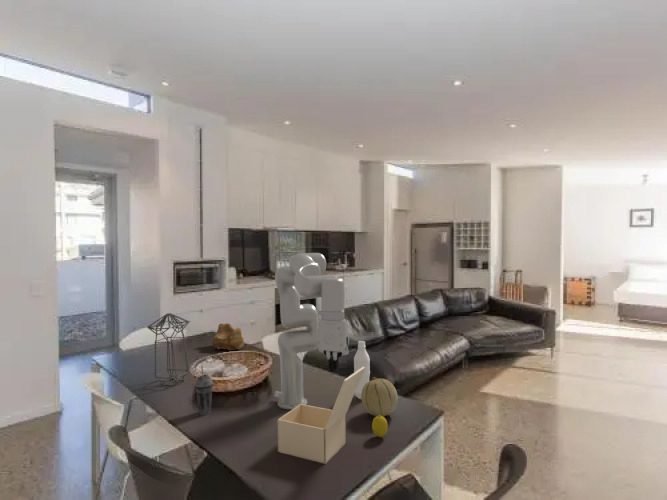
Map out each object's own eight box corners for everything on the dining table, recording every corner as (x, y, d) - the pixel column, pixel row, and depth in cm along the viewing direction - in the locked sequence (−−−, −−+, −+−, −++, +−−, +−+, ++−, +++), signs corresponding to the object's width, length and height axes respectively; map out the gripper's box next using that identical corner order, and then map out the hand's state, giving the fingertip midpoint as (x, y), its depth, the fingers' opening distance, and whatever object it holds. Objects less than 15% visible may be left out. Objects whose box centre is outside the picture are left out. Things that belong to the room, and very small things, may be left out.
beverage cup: (217, 410, 184) (216, 362, 183) (207, 417, 177) (205, 368, 176) (202, 408, 186) (201, 361, 185) (191, 415, 179) (190, 366, 178)
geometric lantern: (175, 389, 209) (171, 316, 208) (148, 387, 214) (144, 316, 213) (195, 378, 224) (191, 310, 223) (170, 376, 229) (166, 310, 228)
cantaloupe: (393, 425, 167) (393, 386, 166) (356, 420, 172) (356, 382, 171) (401, 410, 181) (401, 374, 180) (367, 406, 186) (366, 370, 185)
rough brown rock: (205, 349, 287) (203, 326, 286) (227, 342, 299) (226, 320, 297) (223, 357, 271) (221, 333, 269) (246, 349, 282) (244, 326, 280)
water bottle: (369, 400, 192) (368, 343, 191) (353, 399, 193) (352, 343, 192) (371, 394, 199) (370, 339, 198) (355, 393, 200) (354, 339, 199)
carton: (278, 452, 148) (277, 419, 147) (301, 433, 161) (300, 403, 161) (325, 463, 139) (324, 429, 139) (345, 443, 153) (345, 412, 152)
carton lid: (344, 379, 135) (345, 380, 135) (363, 366, 149) (364, 367, 148) (324, 428, 139) (326, 429, 139) (345, 411, 152) (346, 412, 152)
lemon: (371, 434, 160) (370, 412, 159) (386, 433, 160) (385, 411, 160) (373, 441, 154) (373, 418, 154) (389, 440, 155) (389, 418, 154)
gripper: (307, 315, 145) (308, 371, 145) (348, 319, 138) (349, 377, 139) (318, 312, 151) (319, 364, 152) (358, 315, 145) (359, 370, 145)
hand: (333, 370), depth 145 cm, fingers closed
